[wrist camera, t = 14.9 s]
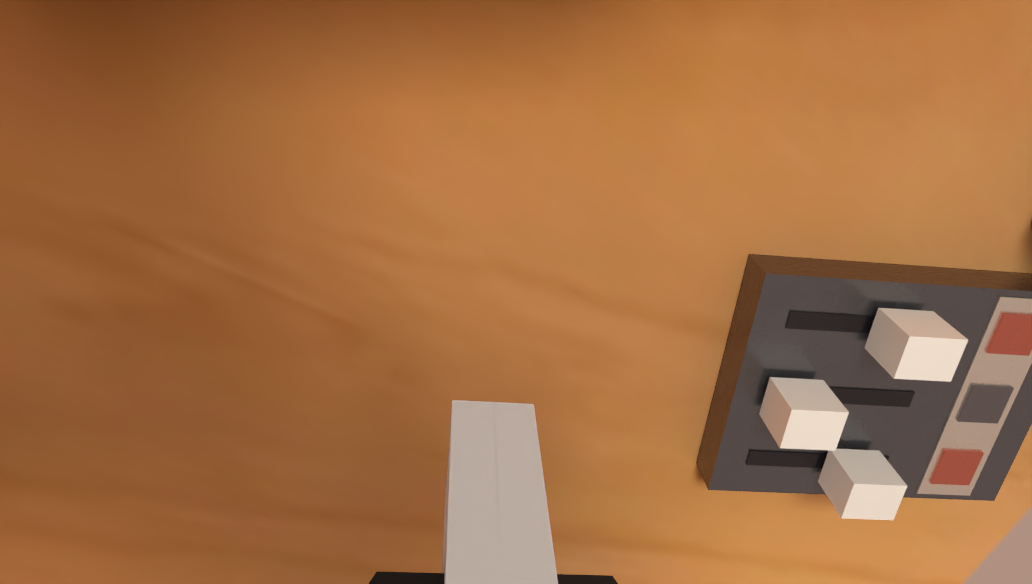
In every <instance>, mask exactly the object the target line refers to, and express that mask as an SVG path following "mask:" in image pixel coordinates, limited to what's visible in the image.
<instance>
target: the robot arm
mask: <svg viewBox="0 0 1032 584" xmlns="http://www.w3.org/2000/svg"><path fill="white" fill-rule="evenodd" d="M369 584H618V583H617V582H616V580H615V579H614V578H613V576H601V575H563V574H557V571H556V564H555V557H554V549H553V542H552V535H551V527H550V520H549V513H548V505H547V498H546V491H545V483H544V476H543V469H542V461H541V454H540V446H539V439H538V432H537V424H536V417H535V410H534V404H524V403H503V402H482V401H461V400H452V411H451V425H450V440H449V454H448V468H447V483H446V497H445V511H444V532H443V555H442V573H408V572H376V574H375V575H374V577H373V578H372V580H371V581H370V582H369Z"/></svg>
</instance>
